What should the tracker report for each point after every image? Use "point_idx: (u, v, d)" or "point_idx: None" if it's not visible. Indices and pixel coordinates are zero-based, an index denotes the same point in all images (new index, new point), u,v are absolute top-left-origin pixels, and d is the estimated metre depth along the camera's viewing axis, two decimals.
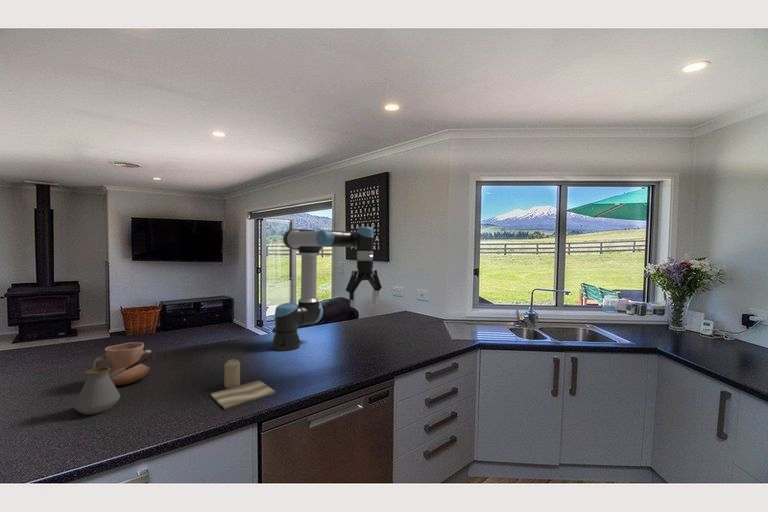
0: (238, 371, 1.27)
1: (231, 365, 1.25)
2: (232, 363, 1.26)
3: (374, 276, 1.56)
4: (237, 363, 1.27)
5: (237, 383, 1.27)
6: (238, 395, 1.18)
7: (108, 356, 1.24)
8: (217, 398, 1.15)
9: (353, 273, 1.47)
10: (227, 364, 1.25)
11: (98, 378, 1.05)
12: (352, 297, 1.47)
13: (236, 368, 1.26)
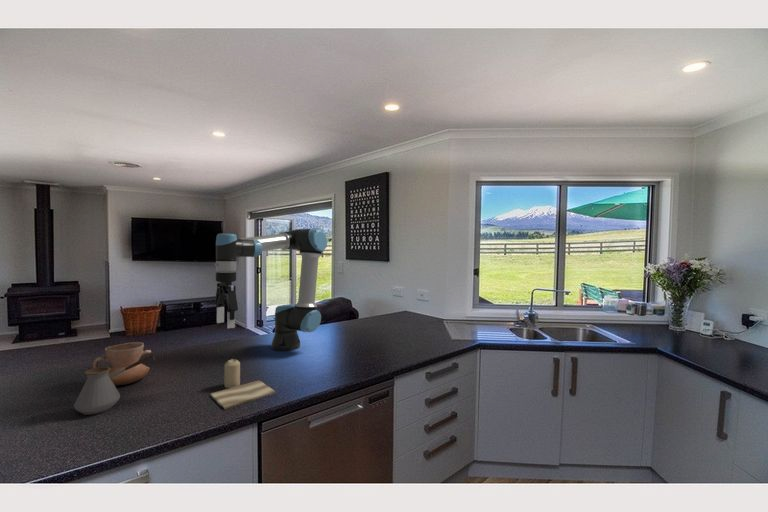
0: (238, 371, 1.27)
1: (231, 365, 1.25)
2: (232, 363, 1.26)
3: None
4: (237, 363, 1.27)
5: (237, 383, 1.27)
6: (238, 395, 1.18)
7: (108, 356, 1.24)
8: (217, 398, 1.15)
9: None
10: (227, 364, 1.25)
11: (98, 378, 1.05)
12: None
13: (236, 368, 1.26)
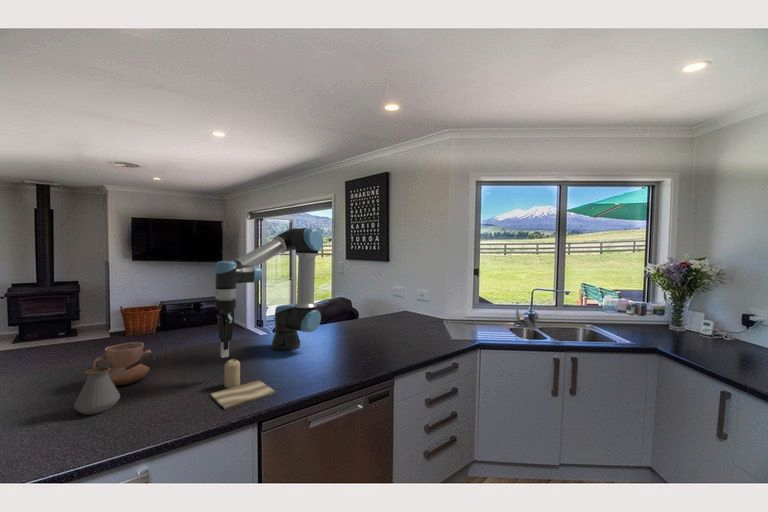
0: (238, 371, 1.27)
1: (231, 365, 1.25)
2: (232, 363, 1.26)
3: None
4: (237, 363, 1.27)
5: (237, 383, 1.27)
6: (238, 395, 1.18)
7: (108, 356, 1.24)
8: (217, 398, 1.15)
9: None
10: (227, 364, 1.25)
11: (98, 378, 1.05)
12: None
13: (236, 368, 1.26)
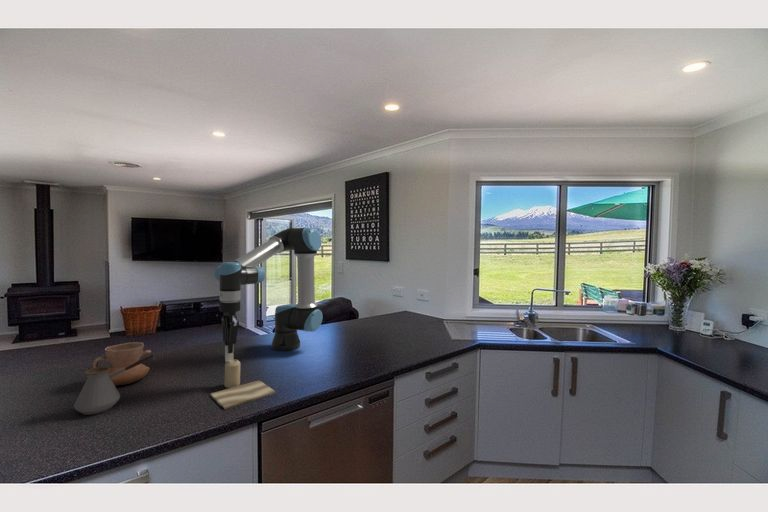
0: (238, 371, 1.27)
1: (232, 365, 1.25)
2: (233, 363, 1.25)
3: None
4: (238, 363, 1.26)
5: (237, 383, 1.26)
6: (238, 395, 1.18)
7: (108, 356, 1.24)
8: (217, 398, 1.15)
9: None
10: (227, 364, 1.25)
11: (98, 378, 1.05)
12: None
13: (237, 368, 1.26)
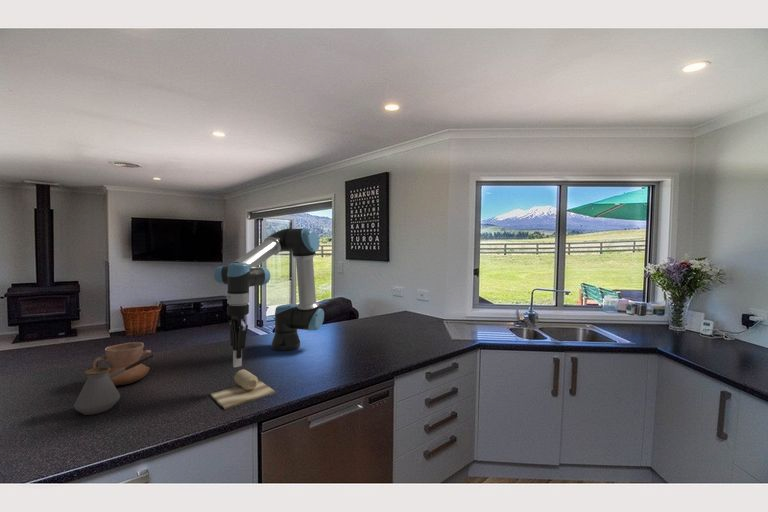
0: None
1: (244, 386, 1.20)
2: (246, 386, 1.20)
3: None
4: (248, 389, 1.21)
5: None
6: (238, 395, 1.18)
7: (108, 356, 1.24)
8: (217, 398, 1.15)
9: None
10: (246, 381, 1.20)
11: (98, 378, 1.05)
12: None
13: None
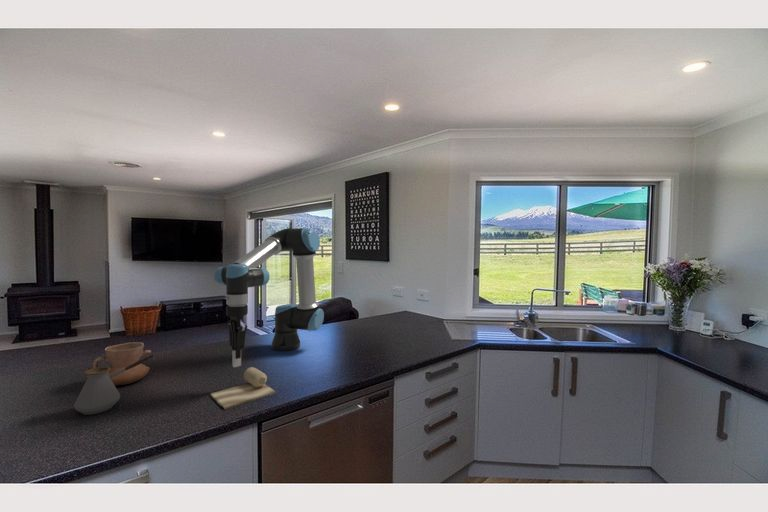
0: (249, 379, 1.24)
1: (257, 375, 1.23)
2: (258, 377, 1.23)
3: None
4: (254, 381, 1.22)
5: (245, 375, 1.27)
6: (238, 395, 1.18)
7: (108, 356, 1.24)
8: (217, 398, 1.15)
9: None
10: (262, 374, 1.24)
11: (98, 378, 1.05)
12: None
13: (252, 378, 1.23)
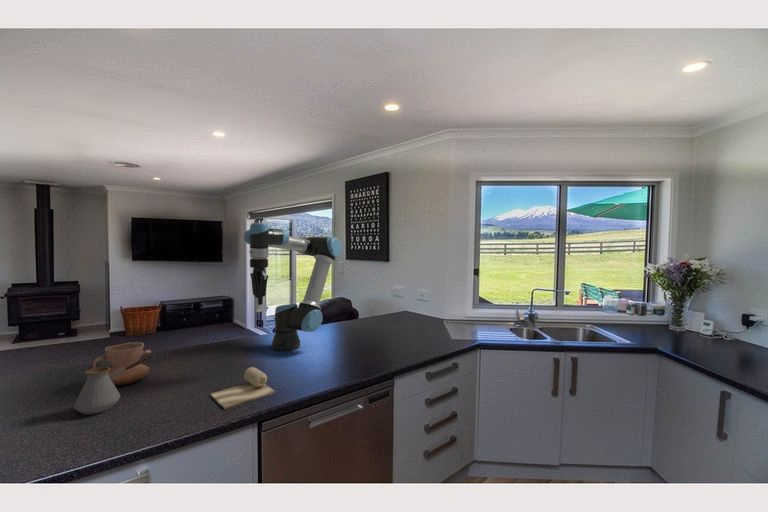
0: (250, 379, 1.24)
1: (257, 375, 1.23)
2: (258, 377, 1.23)
3: None
4: (254, 381, 1.22)
5: (245, 374, 1.27)
6: (238, 395, 1.18)
7: (108, 356, 1.24)
8: (217, 398, 1.15)
9: None
10: (262, 374, 1.24)
11: (98, 378, 1.05)
12: None
13: (252, 378, 1.23)
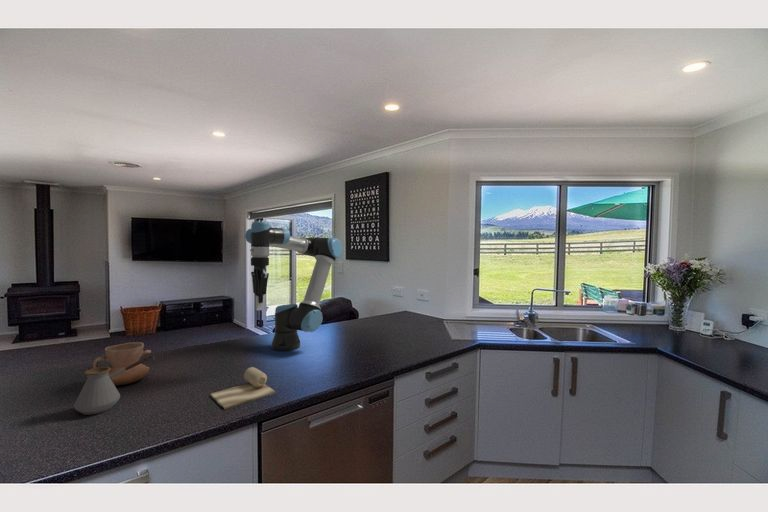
0: (250, 379, 1.24)
1: (257, 375, 1.23)
2: (258, 377, 1.23)
3: None
4: (254, 381, 1.22)
5: (245, 374, 1.27)
6: (238, 395, 1.18)
7: (108, 356, 1.24)
8: (217, 398, 1.15)
9: None
10: (262, 374, 1.24)
11: (98, 378, 1.05)
12: None
13: (252, 378, 1.23)
